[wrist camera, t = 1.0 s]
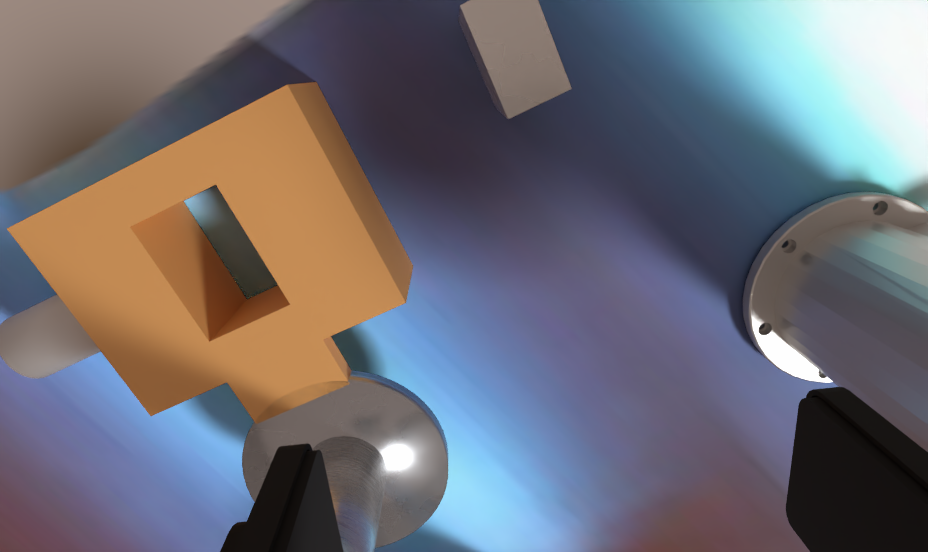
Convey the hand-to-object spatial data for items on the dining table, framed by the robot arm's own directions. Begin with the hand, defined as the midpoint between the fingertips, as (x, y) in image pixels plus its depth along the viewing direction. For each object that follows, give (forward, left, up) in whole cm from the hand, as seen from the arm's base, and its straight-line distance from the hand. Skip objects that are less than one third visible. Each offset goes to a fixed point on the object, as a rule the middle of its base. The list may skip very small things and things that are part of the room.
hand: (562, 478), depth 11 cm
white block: (-4, -7, -25) cm, 26 cm away
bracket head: (+17, -3, -25) cm, 30 cm away
